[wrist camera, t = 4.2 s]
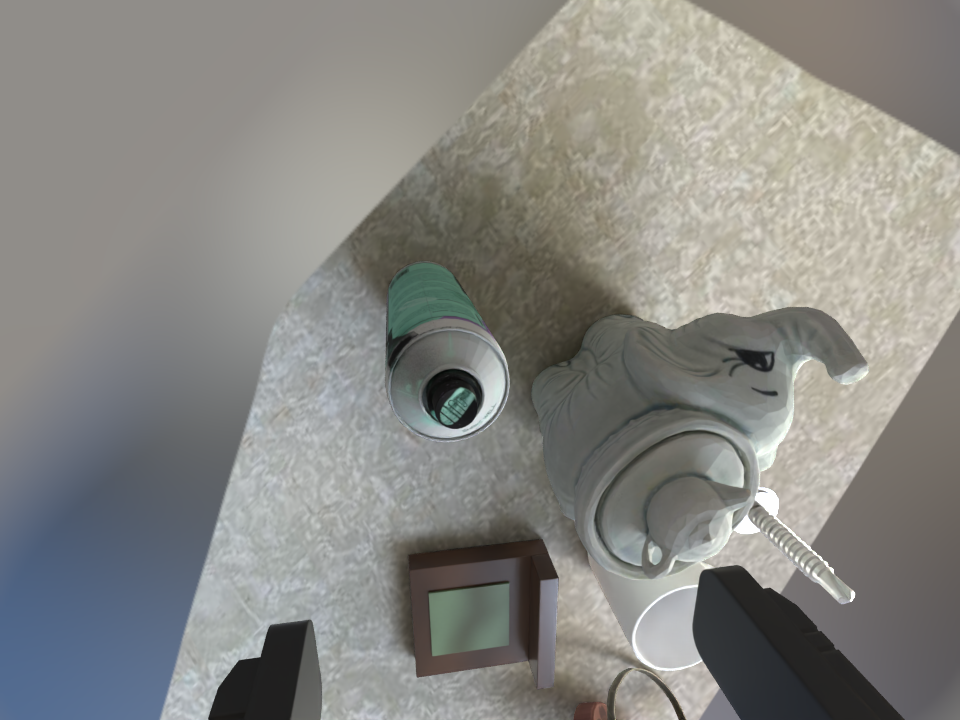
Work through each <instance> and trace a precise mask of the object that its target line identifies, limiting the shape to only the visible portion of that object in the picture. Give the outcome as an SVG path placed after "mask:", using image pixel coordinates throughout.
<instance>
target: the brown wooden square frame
mask: <svg viewBox="0 0 960 720" xmlns="http://www.w3.org/2000/svg"><path fill="white" fill-rule="evenodd" d="M408 559H409V577H410V591H411V605H412V619H413V633H414V647H415V661H416V676H417V677H424V676H431V675H437V674H444V673H451V672H457V671H464V670H471V669H477V668H484V667H491V666H497V665H504V664H510V663H517V662H524V661H529V664H530V668H531V671H532V674H533V678H534V681H535V685H536V688H537V689H543V688H549V687H554V673H555V650H556V627H557V604H558V581H559V578H558V575H557V573H556V570H555V568H554V566H553V563H552V561H551V559H550V556H549V554H548V551H547V549H546V546H545V544H544V542H543V539H538V540H530V541H521V542H513V543H504V544H496V545H487V546H479V547H470V548H462V549H453V550H444V551H436V552H427V553H419V554H410V555H408Z"/></svg>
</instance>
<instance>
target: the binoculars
mask: <svg viewBox="0 0 960 720" xmlns="http://www.w3.org/2000/svg"><path fill="white" fill-rule="evenodd" d="M633 670H637V671H639V672H641V673H644V674H646V675H647V676H649V677H650V678H651V679H652V680H654V681H655V682H656V683H657V684H658V685H659V686H660V688H661V689H662V690H663V691H664V693H665V694H666V695H667V697H668V698H669V700H670V701H671V703H672V705H673V707H674V709H675V712H676V714H677V716H678V719H679V720H686V717H685V715H684V712H683V710H682V708H681V706H680V704H679V702H678V700H677V698H676V697H675V695H674V694H673V692H672V691H671V690H670V689H669V687H668V686H667V685H666V684H665V683H664V682H663V681H662V680H661V679H660V678H659V677H657V676H656V675H655V674H653V673H652V672H650V671H648V670H645V669H642V668H629V669H626V670H624V671H622V672H621V673H619V674H618V675H617V677H616V678H615V680H614V681H613V683H612V685H611V687H610V689H609V693H608V700H607V705H606V704H604V703H602V702H587V703H580V704H579V705H578V706H577V707H576V710H575V713H574V719H573V720H616V717H615V700H616V694H617V690H618V687H619V685H620V684H621V682H622V680H623V678H624V677H625V676H626V675H627V674H628V673H629V672H631V671H633Z"/></svg>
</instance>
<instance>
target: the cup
mask: <svg viewBox="0 0 960 720" xmlns="http://www.w3.org/2000/svg"><path fill="white" fill-rule="evenodd" d="M588 560H589V564H590V567H591V569H592V571H593V573H594V575H595V577H596V579H597V581H598V583H599V585H600V587H601V589H602V591H603V593H604V595H605V597H606V599H607V601H608V603H609V605H610V607H611V609H612V611H613V613H614V615H615V616H616V618H617V620H618V622H619V624H620V626H621V628H622V630H623V632H624V634H625V636H626V638H627V640H628V642H629V644H630V646H631V648H632V650H633V652H634V653H635V655H636V657H637V658H638V659H639V660H640V661H641V662H642V663H644V664H645V665H647V666H649V667H651V668H654V669H658V670H665V671H671V670H679V669H684V668H687V667H690V666H693V665H695V664H697V663H699V662H701V661H703V660H702V658H701V657H700V655H699V653H698V650H697V648H696V645H695V642H694V638H693V631H692V623H693V616H694V610H695V603H696V597H697V590H698V583H699V577H700V574H701V572H702V571H703V570H705V569H711V568H714V567H713V566H711V565H710V564H708V563H706V562H704V561H700V562H698V563H696V564H694V565H692V566H690V567H688V568H686V569H685V570H683V571H681V572H679V573H677V574H674V575H670V576H666V577H663V578H661V579H656V580H632V579H628V578H625V577H622V576H620V575H617V574H614V573H612V572H609V571H607V570H606V569H604V568H603V567H602V566H600V565H599V564H597V562H596V561H595V560H594V559H593V558H592V557H591V556H590V554H589V553H588Z"/></svg>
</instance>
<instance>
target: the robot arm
mask: <svg viewBox="0 0 960 720" xmlns="http://www.w3.org/2000/svg"><path fill="white" fill-rule="evenodd" d="M692 631H693V638H694V642H695V645H696V648H697V650H698V653H699V655H700V657H701V658H702V660H703V662H704V663H705V665H706V666H707V668H708V669H709V671H710V673H711V674H712V676H713V677H714V679H715V680H716V682H717V683H718V685H719V687H720V688H721V690H722V691H723V693H724V694H725V696H726V697H727V699H728V700H729V702H730V704H731V705H732V707H733V708H734V710H735V711H736V713H737V714H738V716H739V718H740V719H741V720H904V719H903V718H902V716H901V715H900V714H899V713H898V712H897V711H896V710H895V709H894V708H893V707H892V706H891V705H890V704H889V703H888V702H887V700H886V699H885V698H884V697H883V696H882V695H881V694H880V693H879V692H878V691H877V690H876V689H875V688H874V687H873V686H872V685H871V684H870V682H868V680H867V679H866V678H865V677H864V676H863V675H862V674H861V673H860V672H859V671H858V670H857V669H856V668H855V667H854V665H853V664H852V663H851V662H850V661H849V660H848V659H847V658H846V657H845V656H844V655H843V654H842V653H841V652H840V651H839V650H836V649H835V648H834V645H833V643H832V642H831V641H830V640H829V639H828V638H827V637H826V636H825V635H824V634H823V633H822V632H821V631H818V630H817V626H816V625H815V624H814V623H813V622H812V621H811V620H810V619H809V618H808V617H807V616H806V615H805V614H804V613H803V611H802V610H801V609H800V608H799V607H798V606H797V605H796V604H794V603H792V602H791V601H789V600H788V599H786V598H785V597H783V596H782V595H780V594H779V593H777V592H776V591H774V590H773V589H771V588H765V589H763V588H762V587H761V586H760V585H759V584H758V583H757V581H756V580H755V579H754V578H753V577H752V576H751V575H750V574H749V573H748V571H747V570H745V569H744V568H743V567H741V566H739V565H734V566H727V567H719V568H711V569H705V570H703V571H702V572H701V574H700V577H699V583H698V590H697V597H696V603H695V610H694V616H693V623H692ZM321 709H322V682H321V674H320V667H319V660H318V654H317V647H316V640H315V634H314V627H313V623H312V621H311V620H304V621H297V622H289V623H282V624H274V625H271V626H270V627H269V629H268V631H267V635H266V639H265V642H264V646H263V650H262V654H261V657H259V658H252V659H244V660H239V661H238V662H237V664H236V665H235V666H234V668H233V669H232V670H231V672H230V673H229V674H228V675H227V677H226V678H225V679H224V681H223V682H222V683H221V685H220V686H219V687H218V690H217V693H216V696H215V699H214V702H213V705H212V708H211V711H210V714H209V717H208V720H320V719H321Z"/></svg>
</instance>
